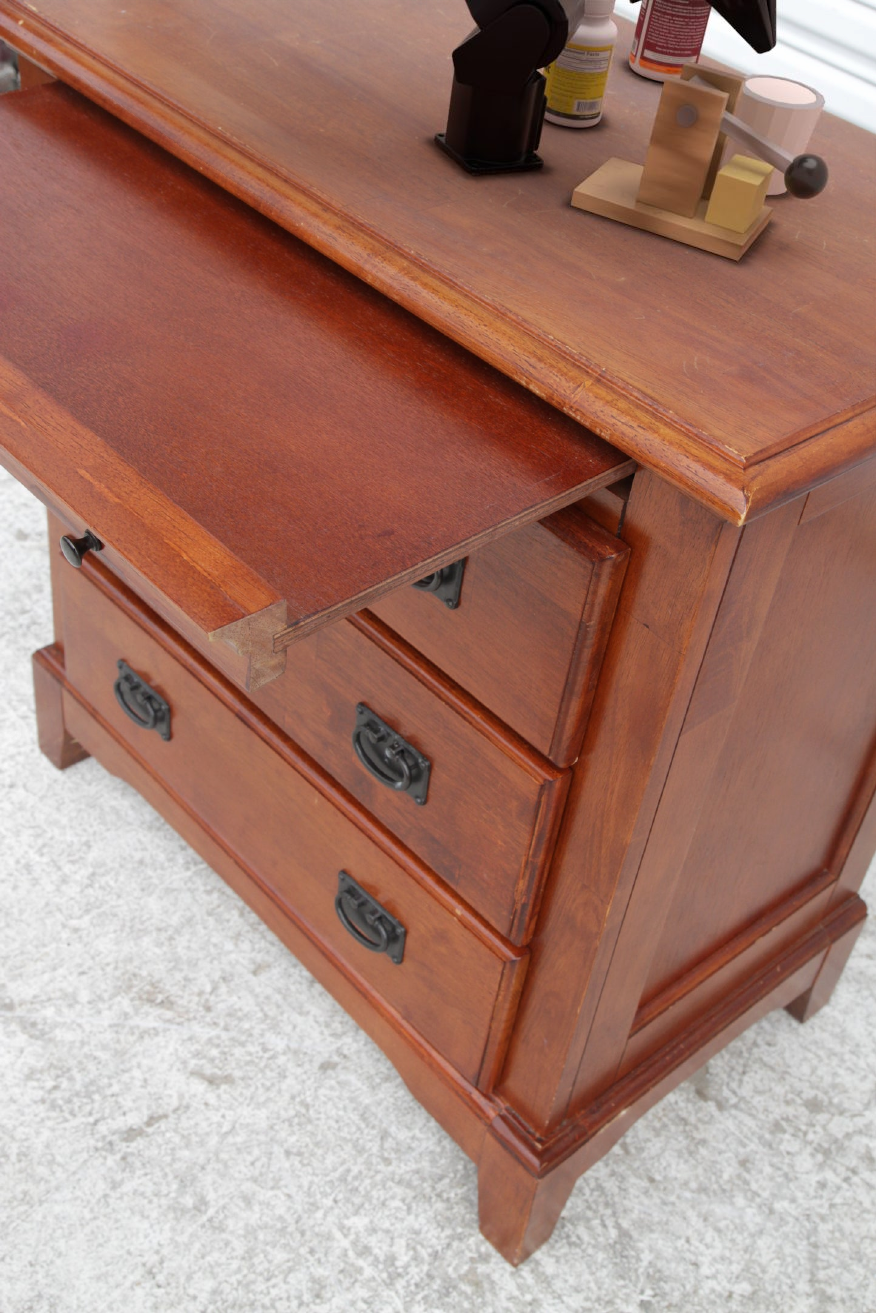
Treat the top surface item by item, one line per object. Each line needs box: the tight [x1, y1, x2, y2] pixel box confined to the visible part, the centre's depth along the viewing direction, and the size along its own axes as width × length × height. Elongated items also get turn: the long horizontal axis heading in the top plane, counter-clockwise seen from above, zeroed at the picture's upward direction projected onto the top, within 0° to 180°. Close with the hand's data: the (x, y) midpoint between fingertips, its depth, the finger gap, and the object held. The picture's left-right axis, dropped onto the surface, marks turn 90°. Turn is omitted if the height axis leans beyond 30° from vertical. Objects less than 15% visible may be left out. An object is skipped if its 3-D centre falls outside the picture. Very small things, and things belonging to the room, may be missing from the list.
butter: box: [704, 154, 775, 234], centre depth 92 cm, size 4×3×4 cm
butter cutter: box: [570, 61, 774, 262], centre depth 92 cm, size 13×8×10 cm, turn 63°
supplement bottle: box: [542, 0, 619, 128], centre depth 104 cm, size 5×5×10 cm
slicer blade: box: [689, 75, 830, 200], centre depth 90 cm, size 12×3×3 cm, turn 63°
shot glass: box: [720, 73, 826, 196], centre depth 100 cm, size 7×7×7 cm
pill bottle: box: [628, 0, 713, 83], centre depth 115 cm, size 6×6×11 cm
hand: (767, 50), depth 89 cm, fingers closed
